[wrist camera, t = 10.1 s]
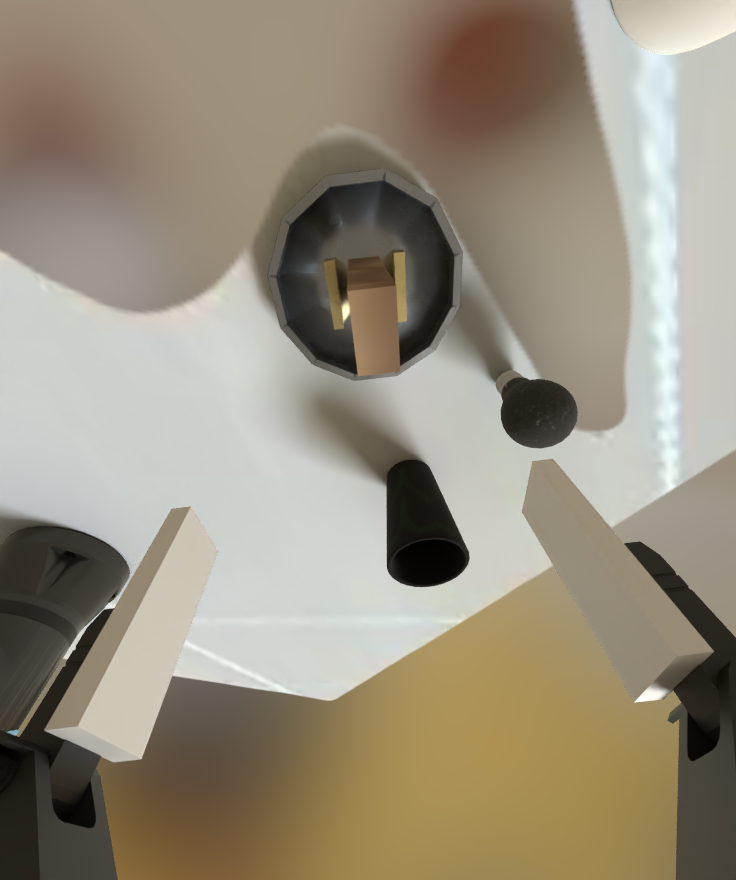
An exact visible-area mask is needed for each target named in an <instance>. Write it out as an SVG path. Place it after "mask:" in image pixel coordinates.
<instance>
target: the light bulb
mask: <svg viewBox="0 0 736 880" xmlns="http://www.w3.org/2000/svg"><path fill="white" fill-rule="evenodd" d="M496 388H497V390H498V392H499V393H500V394H501V395H502V400H503V404H502V407H501V421H502V424H503V427H504V429H505V431H506V433H507V434H508V435H509V436H510V437H511V438H512V439H513V440H514V441H516V442H517V443H519V444H521V445H523V446H526V447H531V448H545V447H550V446H554V445H556V444H558V443H560V442H562V441H563V440H564V439H565V438H566V437H567V436H569V435H570V433H571V432H572V430H573V428H574V426H575V424H576V421H577V406H576V403H575V400H574V398H573V396H572V395H571V394H570V393H569V392H568V391H567V390H566V389H565V388H564V387H562V386H561V385H559V384H557V383H554V382H552V381H548V380H542V379H536V380H529V379H527V378H524V377H523V376H521V374H519V373H517V372H516V371H512V370H509V371H506V372H504V373H502V374H501V375H500V376H499V377H498V378H497V380H496Z"/></svg>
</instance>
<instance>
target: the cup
mask: <svg viewBox="0 0 736 880" xmlns="http://www.w3.org/2000/svg"><path fill="white" fill-rule="evenodd" d="M469 559H470V558H469V552H468V549H467V547H466V545H465V543H464V541H463V539H462V536H461V534H460V532H459V530H458V528H457V526H456V523H455V521H454V519H453V517H452V515H451V513H450V510H449V508H448V506H447V504H446V502H445V500H444V497H443V495H442V493H441V491H440V489H439V487H438V485H437V482H436V480H435V478H434V476H433V474H432V472H431V470H430V468H429V467H428V466H427V465H426V464H425V463H423V462H421V461H417V460H406V461H403V462H400V463H398V464H396V465H394V466H393V467H392V468H391V469H390V471H389V472H388V475H387V569H388V572H389V574H390V575H391V576H392V577H393V578H394V579H395V580H397V581H398V582H400V583H402V584H405V585H408V586H414V587H429V586H436V585H440V584H443V583H446V582H448V581H451V580H452V579H454V578H456V577H457V576H458V575H460V574H461V573H462V572H463V571H464V569H465V568H466V566H467V565H468V562H469Z"/></svg>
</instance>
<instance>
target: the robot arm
mask: <svg viewBox="0 0 736 880" xmlns="http://www.w3.org/2000/svg"><path fill="white" fill-rule="evenodd" d="M522 513H523V514H524V516H525V518H526V520H527V521H528V523H529V525H530V526H531V528H532V530H533V531H534V533H535V535H536V537H537V538H538V540H539V542H540V543H541V545H542V547H543V548H544V550H545V552H546V554H547V555H548V557H549V559H550V560H551V562H552V564H553V565H554V567H555V569H556V571H557V572H558V574H559V576H560V577H561V579H562V581H563V582H564V584H565V586H566V588H567V589H568V591H569V593H570V594H571V596H572V598H573V600H574V601H575V603H576V605H577V606H578V608H579V610H580V611H581V613H582V614H583V616H584V618H585V620H586V621H587V623H588V625H589V627H590V628H591V630H592V632H593V633H594V635H595V637H596V638H597V640H598V642H599V644H600V645H601V647H602V649H603V651H604V652H605V654H606V656H607V657H608V659H609V661H610V662H611V664H612V666H613V668H614V669H615V671H616V673H617V674H618V676H619V678H620V679H621V681H622V683H623V685H624V686H625V688H626V690H627V691H628V693H629V695H630V696H631V698H632V700H633V702H642V701H650V700H660V699H664V698H665V697H666V696H667V695H668V694H670V693H671V692H672V691H673V690H674V692H675V693H676V695H677V696H678V698H679V699H680V701H681V702H682V703H681V704H680V705H679V706H677V707H676V708H675V709H674V710H673V711H672V712H670V715H669V718H668V721H669V722H671V723H674V722H676V721H677V720H678V719H679V761H678V763H679V764H678V805H677V806H678V807H677V851H676V855H677V856H676V880H736V638H735V637H734V635H733V634H732V633H731V632H730V631H729V630H728V629H727V628H726V627H725V625H723V623H722V622H721V621H720V620H719V619H718V618H717V617H716V616H715V615H714V613H713V612H712V611H711V610H710V609H709V608H708V607H707V606H706V605H705V604H704V603H703V601H702V600H701V599H700V598H699V597H698V596H697V595H696V594H695V593H694V592H693V591H692V590H690V589H689V588H688V585H687V584H686V583H685V582H684V581H683V580H682V579H681V577H680V576H679V575H678V576H677V575H676V573H675V571H674V570H673V569H672V567H671V566H670V565H669V564H668V563H667V562H666V561H665V560H664V559H663V558H662V557H661V556H660V555H659V554H658V553H656V552H655V551H653V550H652V549H650V548H649V547H647V546H646V545H645V544H643V543H642V542H632V543H623V542H622V541H621V540H620V538H619V537H618V536H617V535H616V534H615V532H614V531H613V530H612V529H611V528H610V526H609V525H608V524H607V523H606V522H605V520H604V519H603V518H602V517H601V516H600V515H599V513H598V512H597V511H596V510H595V509H594V507H593V506H592V505H591V504H590V503H589V501H588V500H587V499H586V498H585V497H584V495H583V494H582V493H581V492H580V491H579V489H578V488H577V487H576V486H575V485H574V483H573V482H572V481H571V480H570V479H569V477H568V476H567V475H566V474H565V473H564V471H563V470H562V469H561V468H560V467H559V465H558V464H557V463H556V462H555V461H554V460H553V459H547V460H540V461H532V466H531V471H530V476H529V480H528V485H527V490H526V495H525V500H524V505H523V509H522ZM217 553H218V550H217V548H216V546H215V545H214V543H213V541H212V540H211V538H210V537H209V535H208V533H207V532H206V530H205V528H204V527H203V525H202V523H201V522H200V520H199V519H198V517H197V515H196V514H195V512H194V510H193V509H192V507H183V508H176V509H171V511H170V513H169V514H168V516H167V518H166V520H165V521H164V523H163V525H162V527H161V528H160V530H159V532H158V534H157V535H156V537H155V539H154V541H153V542H152V544H151V546H150V547H149V549H148V551H147V553H146V554H145V556H144V558H143V560H142V561H141V563H140V565H139V567H138V568H137V570H136V572H135V573H134V575H133V577H132V579H131V580H130V582H129V584H128V586H127V587H126V589H125V591H124V593H123V594H122V596H121V598H120V599H119V601H118V603H117V605H116V606H115V608H113V609H105V610H103V611H102V609H103V608H104V607H105V606H106V605H107V604H108V603H109V602H111V601H112V600H114V599H115V598H116V597H117V596H118V594H119V593H120V592H121V590H122V588H123V587H124V585H125V583H126V582H127V580H128V578H129V574H130V572H129V567H128V565H127V563H126V561H125V560H124V559H123V557H122V556H121V555H120V554H119V553H118V552H116V551H115V550H114V549H113V548H111V547H110V546H108V545H106V544H105V543H103V542H101V541H99V540H97V539H95V538H93V537H90V536H88V535H85V534H82V533H79V532H75V531H71V530H67V529H61V528H53V527H33V528H27V529H23V530H19V531H17V532H15V533H13V534H12V535H10V536H9V537H8V538H7V539H6V540H5V541H4V542H3V543H2V544H1V545H0V880H118V879H117V873H116V867H115V861H114V855H113V849H112V844H111V838H110V832H109V826H108V820H107V815H106V808H105V802H104V796H103V790H102V784H101V778H100V775H99V773H98V771H97V769H96V766H97V764H98V762H99V760H100V757H103V758H105V759H108V760H110V761H112V762H119V761H129V760H138V759H142V756H143V753H144V750H145V748H146V745H147V742H148V740H149V737H150V734H151V732H152V729H153V726H154V724H155V720H156V718H157V715H158V713H159V710H160V707H161V705H162V702H163V699H164V696H165V694H166V691H167V688H168V686H169V683H170V680H171V677H172V675H173V672H174V669H175V667H176V664H177V661H178V659H179V656H180V653H181V650H182V648H183V645H184V642H185V640H186V637H187V634H188V631H189V629H190V626H191V623H192V621H193V618H194V615H195V613H196V610H197V607H198V604H199V602H200V599H201V596H202V594H203V591H204V588H205V585H206V583H207V580H208V577H209V575H210V572H211V569H212V567H213V564H214V561H215V558H216V556H217ZM101 611H102V612H101ZM100 612H101V614H100V615H99V616H98V617H97V618H96V619H95V620H94V621H93V622H92V623H91V624H90V625H89V626H88V627H87V629H86V631H85V632H84V634H83V635H82V637H81V639H80V640H79V642H78V644H77V645H76V649H75V650H74V651H73V652H72V653H71V655H70V657H69V658H68V660H67V662H66V666H65V667H63V668H62V670H61V671H60V673H59V674H58V676H57V678H56V679H55V681H54V683H53V684H52V686H51V687H50V689H49V691H48V693H47V694H46V696H45V697H44V699H43V701H42V702H41V704H40V705H39V707H38V709H37V710H36V712H35V713H34V715H33V717H32V718H31V720H30V722H29V723H28V725H27V727H26V728H25V730H24V731H23V733H22V734H21V735H20V737H17V736H16V735H17V733H18V732H19V727H20V726H21V724H22V722H23V721H24V719H25V718H26V716H27V715H28V713H29V711H30V710H31V708H32V707H33V705H34V703H35V702H36V700H37V698H38V697H39V695H40V694H41V692H42V691H43V689H44V687H45V686H46V684H47V683H48V681H49V679H50V678H51V676H52V675H53V673H54V671H55V670H56V668H57V667H58V665H59V663H60V662H61V660H62V659H63V657H64V656H65V654H66V652H67V651H68V649H69V647H70V646H71V644H72V643H73V641H74V639H75V638H76V637H77V635H78V633H79V632H80V631H81V630H82V629H83V628H84V627H85V626H86V625H87V624H88V623H89V622H90V621H91V620H92V619H93V618H94V617H95V616H97V615H98V614H99V613H100Z"/></svg>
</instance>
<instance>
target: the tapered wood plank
mask: <svg viewBox="0 0 736 880" xmlns="http://www.w3.org/2000/svg"><path fill="white" fill-rule="evenodd" d="M347 293H348V301H349V308H350V316H351V324H352V332H353V340H354V348H355V356H356V364H357V372H358V376H365V375H374V374H383V373H392V372H400V354H399V332H398V311H397V289H396V284H395V282H394V281H393V279H392V277H391V276H390V274H389V272H388V271H387V269H386V267H385V266H384V264H383V262H382V261H381V259H380V257H379V256H372V257H364V258H355V259H348V284H347Z"/></svg>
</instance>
